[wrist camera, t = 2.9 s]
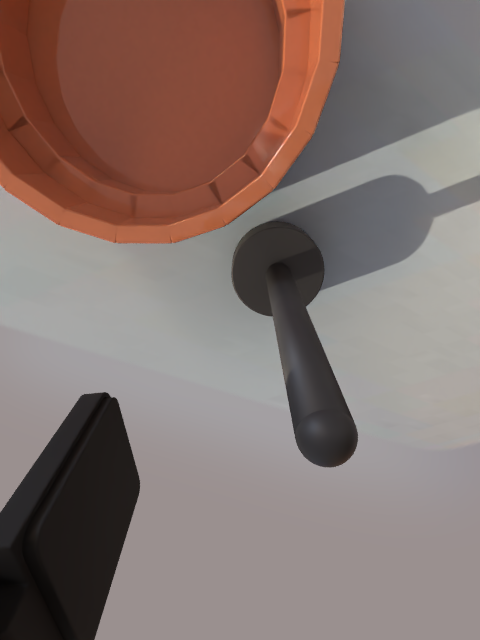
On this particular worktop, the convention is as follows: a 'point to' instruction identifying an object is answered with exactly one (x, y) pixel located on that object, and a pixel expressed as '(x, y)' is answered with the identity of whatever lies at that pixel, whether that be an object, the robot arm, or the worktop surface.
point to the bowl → (159, 108)
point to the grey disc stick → (296, 335)
